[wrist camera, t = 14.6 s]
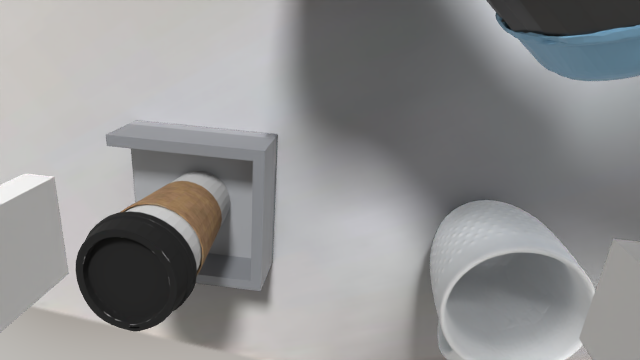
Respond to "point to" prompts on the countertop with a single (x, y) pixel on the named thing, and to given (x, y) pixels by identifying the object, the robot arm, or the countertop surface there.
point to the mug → (505, 286)
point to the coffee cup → (151, 252)
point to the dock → (233, 171)
